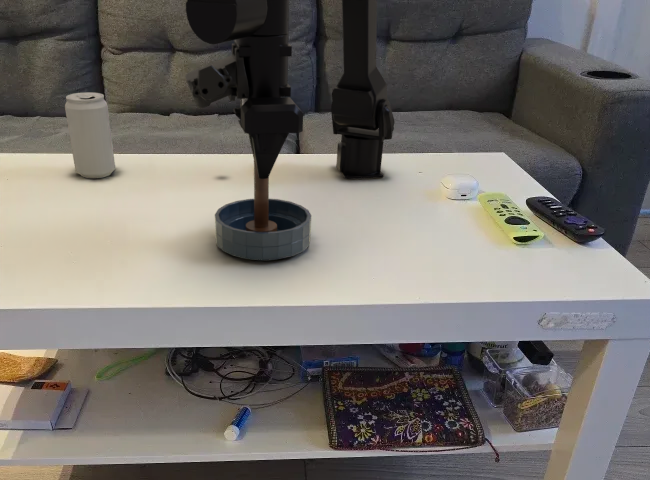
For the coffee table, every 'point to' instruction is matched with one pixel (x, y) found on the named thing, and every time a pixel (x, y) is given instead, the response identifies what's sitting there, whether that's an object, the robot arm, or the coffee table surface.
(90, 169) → the beverage can
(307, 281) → the coffee table surface
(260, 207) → the rod
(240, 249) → the bowl
